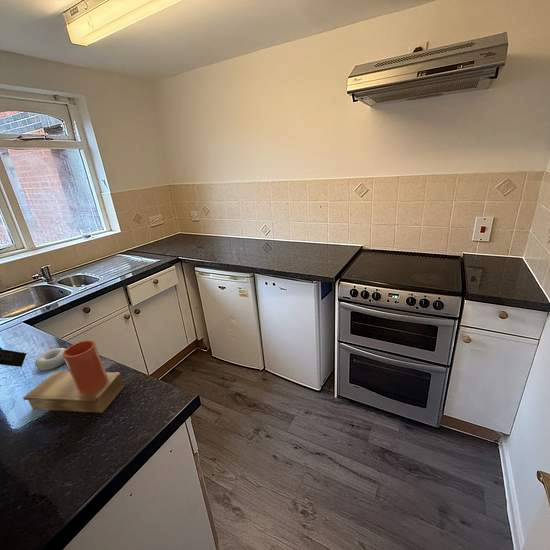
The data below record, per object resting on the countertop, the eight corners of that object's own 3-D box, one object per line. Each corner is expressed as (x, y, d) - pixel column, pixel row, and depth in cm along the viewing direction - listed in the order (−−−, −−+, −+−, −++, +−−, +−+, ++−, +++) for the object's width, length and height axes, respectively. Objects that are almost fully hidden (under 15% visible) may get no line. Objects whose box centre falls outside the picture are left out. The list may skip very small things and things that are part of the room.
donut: (77, 354, 107) (54, 353, 109) (74, 346, 106) (51, 345, 108) (54, 373, 98) (29, 371, 100) (50, 364, 97) (25, 363, 99)
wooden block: (30, 411, 83) (22, 397, 81) (61, 384, 93) (55, 370, 91) (100, 415, 79) (94, 400, 77) (125, 386, 89) (120, 372, 87)
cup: (71, 393, 80) (55, 356, 76) (91, 374, 87) (77, 340, 83) (95, 394, 79) (80, 357, 75) (113, 375, 86) (100, 340, 82)
